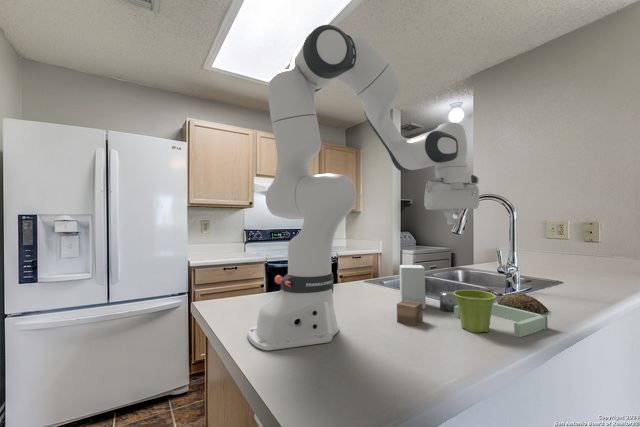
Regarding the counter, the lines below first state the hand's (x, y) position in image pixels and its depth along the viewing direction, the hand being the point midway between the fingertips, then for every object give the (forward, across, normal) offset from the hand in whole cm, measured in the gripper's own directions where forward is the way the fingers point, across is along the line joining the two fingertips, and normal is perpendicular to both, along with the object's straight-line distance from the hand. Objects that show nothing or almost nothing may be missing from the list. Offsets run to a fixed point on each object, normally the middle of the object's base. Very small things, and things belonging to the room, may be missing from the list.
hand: (453, 224), depth 89 cm
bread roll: (+27, +20, -8) cm, 34 cm away
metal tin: (+26, 0, +2) cm, 26 cm away
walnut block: (+26, -18, 0) cm, 32 cm away
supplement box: (+26, -6, +11) cm, 29 cm away
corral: (+26, +1, -12) cm, 28 cm away
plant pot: (+26, -8, -12) cm, 30 cm away
